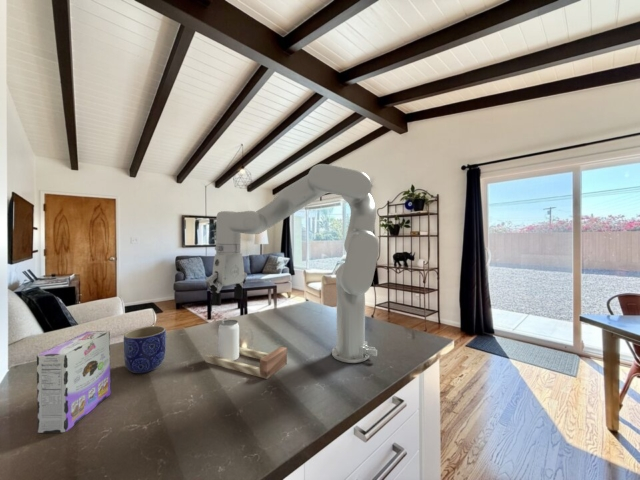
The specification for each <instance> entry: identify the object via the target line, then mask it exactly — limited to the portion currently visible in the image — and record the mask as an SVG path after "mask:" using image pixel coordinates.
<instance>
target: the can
mask: <svg viewBox="0 0 640 480" xmlns="http://www.w3.org/2000/svg"><path fill="white" fill-rule="evenodd" d="M217 331H218V334H217V335H218V337H217V338H218V344H217V346H218V347H217V348H218V351H217V352H218V357H221V358H224V359H228V360H232V361H237V360H238V359H239V358H240V354H239V347H240V325H239V322H238V320H237V319H224V320H223V321H220V322H219V326H218V330H217Z"/></svg>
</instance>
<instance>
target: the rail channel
mask: <svg viewBox="0 0 640 480" xmlns="http://www.w3.org/2000/svg"><path fill="white" fill-rule="evenodd" d="M287 353H288V347H284V346H279V347H278V348H276V349H274V350H273V351H271V352H269V353H268V352H265V351H259V350H255V349H252V348H247V347H243V346H239V356H245V357H250V358H252V359H257V360H259V367H258V366H256V365H251V364H247V363H243V362H241V361H240V362H239V361H237V360H235V361H232V360H228V359H224V358H221V357H219V356H215V355H214V354H213V355H212V354H209V353H208V354H206V355H204V357H205V358H204V360H205V363H208V364H211V365H215V366H218V367H223V368H225V369H229V370H233V371H237V372H241V373H244V374H247V375H252V376H255V377H258V378H261V379H266V380H268V379H269V378H270V377H272V376H273V375H274V374H276V373H277V372H279V370H281V369H282V368H283V367H284V366H286V365H287V362H288V357H287V356H288V354H287Z"/></svg>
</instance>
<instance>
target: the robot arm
mask: <svg viewBox="0 0 640 480" xmlns="http://www.w3.org/2000/svg"><path fill="white" fill-rule="evenodd" d="M372 185H373V183H372V181H371V178H370V177H369V175H367V174H366V173H365V172H364V171H360V170H355V169H351V168H347V167H342V166H337V165H332V164H326V163H319V164H316V165H314V166H312V167H311V168H310V170H309V172H308V174H307V175H305V176H303V177H301V178H299V179H297V180H296V181H295V182H293V183H291V184H289V185H288V186H286V187H284V188H283V189H281V190H280V191H279V192H278V194H277V196H276V197H275V198H274V199H272V201H270V202H269V203H267V204H266V205H264V206H263V207H261V208H260V209H257V210H256V211H254V210H246V211H232V210H231V211H230V210H229V211H228V210H224V211H219V212H217V214H216V223H215V224H216V230H215V231H216V234H215V235H216V236H215V237H216V239H215V243H216V245H215V247H214V250H215V254H214V257H213V258H214V259H213V263H212V264H213V265H212V274H211V275H210V276H209V277H207V278H206V279H205V284H206V285H207V289H208V290H209V291H210V293H211V305H213V306H218V307H219V306H221V305H222V292H221V290H222V288H223V287H229V286H234V287H233V290H234V291H233V297H234V299H236V300H243V293H244V291H243V288H244V286H245V285H244V284H245V283H246V281H247V277H248V273H247V272H245V265H244V258H243V257H244V256H243V253H241V238H242V237H241V235H242V234H245V235H259V234H262V233H264V232H266V231H267V230H269V229H270V228H272V227H274V226H276V225H277V224H278V223H280V222H282V221H284V220H285V219H287V218H288V217H290V216H292V215H294V214H295V213H297V212H298V211H300V210H301V209H303V208H305V207H306V206H308V205H309V204H311V203H313V202H315V201H316V200H318V199H320V198H321V197H323V196H324V195H327V194H332V195H337V196H341V197H342V199H343V200H344V201H345V202H347V204H348V206H349V208H350V217H349V223H348V227H347V232H346V235H345V239H344V242H343V243H344V244H343V246H344V247H343V248H344V251H345V252H346V255H345V261H344V262H343V263H341V264H340V265H339V267H338V268H337V270H336V274H335V287H336V346H335V347H333V348H332V349H331V355H332V357H333V358H334V359H335V360H337V361H340V362H342V363H349V364H357V363H362V362H363V363H364V362H365V361H368V359H369V358H370V356H373V357H377V356H378V349H376V347H375V346H369V345H368V341H367V340H366V329H365V328H366V294H365V293H367V292H368V291H369V290H370V289H371V286H372V283H373V280H374V276H375V271H376V268H377V264H378V263H377V262H378V257H379V252H380V243H379V240H378V238H377V236H376V235H375V233H374V231H375V226H376V225H375V224H376V219H377V208H376V207H377V206H376V203H375V200H374V198H373V196H372V195H371V193H370V192H371V191H372V187H373V186H372Z"/></svg>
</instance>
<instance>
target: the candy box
mask: <svg viewBox="0 0 640 480" xmlns="http://www.w3.org/2000/svg"><path fill="white" fill-rule="evenodd" d="M110 332H111V331H110V330H100V331H96V330H95V331H86V332H83V333H82V334H78V335H77V336H75V337H73V338H71V339H69V340H65V342H62V343H60V344H58V345H55V346H53V347H52V348H49V349H48V350H44V351H42V352H41V353H39V354H36V391H37V393H36V398H37V400H36V405H37V408H36V409H37V434H41V433H42V434H45V433H46V434H49V433H51V434H52V433H53V434H54V433H58V434H59V433H66V432H68V431H69V430H71V429H72V428H73V427H74V426H75V425H77V424H78V423H79V422H80V421H81V420H82V419H83V418H84V417H86V416H87V414H89V413H91V411H92V410H94V409H95V408H96V407H97V406H99V405H100V404H101V403H102V401H104V400H105V399H107V398H108V397H109V396H110V395H111V394H112V388H111V387H112V385H111V384H112V383H111V380H112V379H111V340H110V339H111V336H110V335H111V333H110Z"/></svg>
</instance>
